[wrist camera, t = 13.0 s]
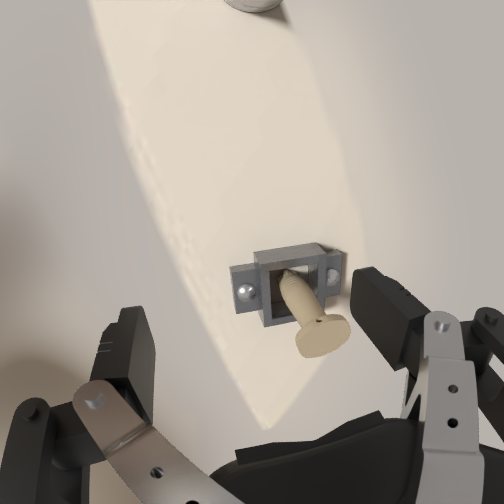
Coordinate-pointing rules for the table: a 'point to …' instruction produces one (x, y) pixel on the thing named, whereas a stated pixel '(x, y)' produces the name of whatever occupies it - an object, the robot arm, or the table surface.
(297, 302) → the handle
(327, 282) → the chain end
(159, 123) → the table surface
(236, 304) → the bracket
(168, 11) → the table surface
